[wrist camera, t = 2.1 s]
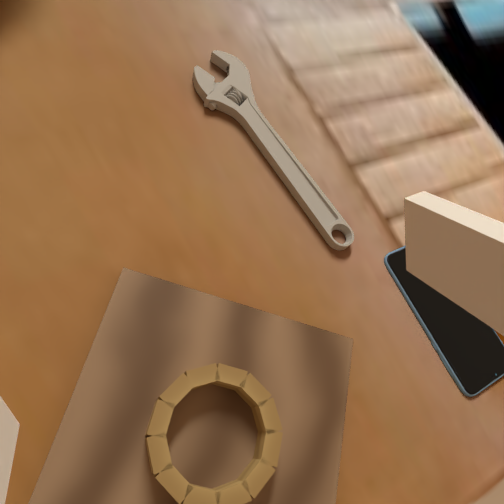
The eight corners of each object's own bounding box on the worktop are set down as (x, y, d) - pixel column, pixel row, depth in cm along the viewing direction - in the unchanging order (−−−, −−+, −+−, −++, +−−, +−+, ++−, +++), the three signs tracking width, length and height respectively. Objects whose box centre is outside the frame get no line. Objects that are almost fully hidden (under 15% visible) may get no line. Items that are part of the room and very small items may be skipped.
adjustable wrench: (352, 246, 42) (361, 238, 40) (302, 271, 39) (310, 264, 38) (230, 59, 47) (234, 47, 46) (179, 71, 45) (181, 57, 43)
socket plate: (3, 572, 25) (-11, 588, 22) (123, 271, 34) (123, 257, 31) (314, 632, 28) (334, 652, 25) (347, 341, 37) (365, 333, 34)
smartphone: (432, 233, 44) (519, 365, 40) (427, 236, 45) (512, 366, 41) (381, 255, 41) (470, 401, 37) (376, 259, 42) (463, 401, 38)
